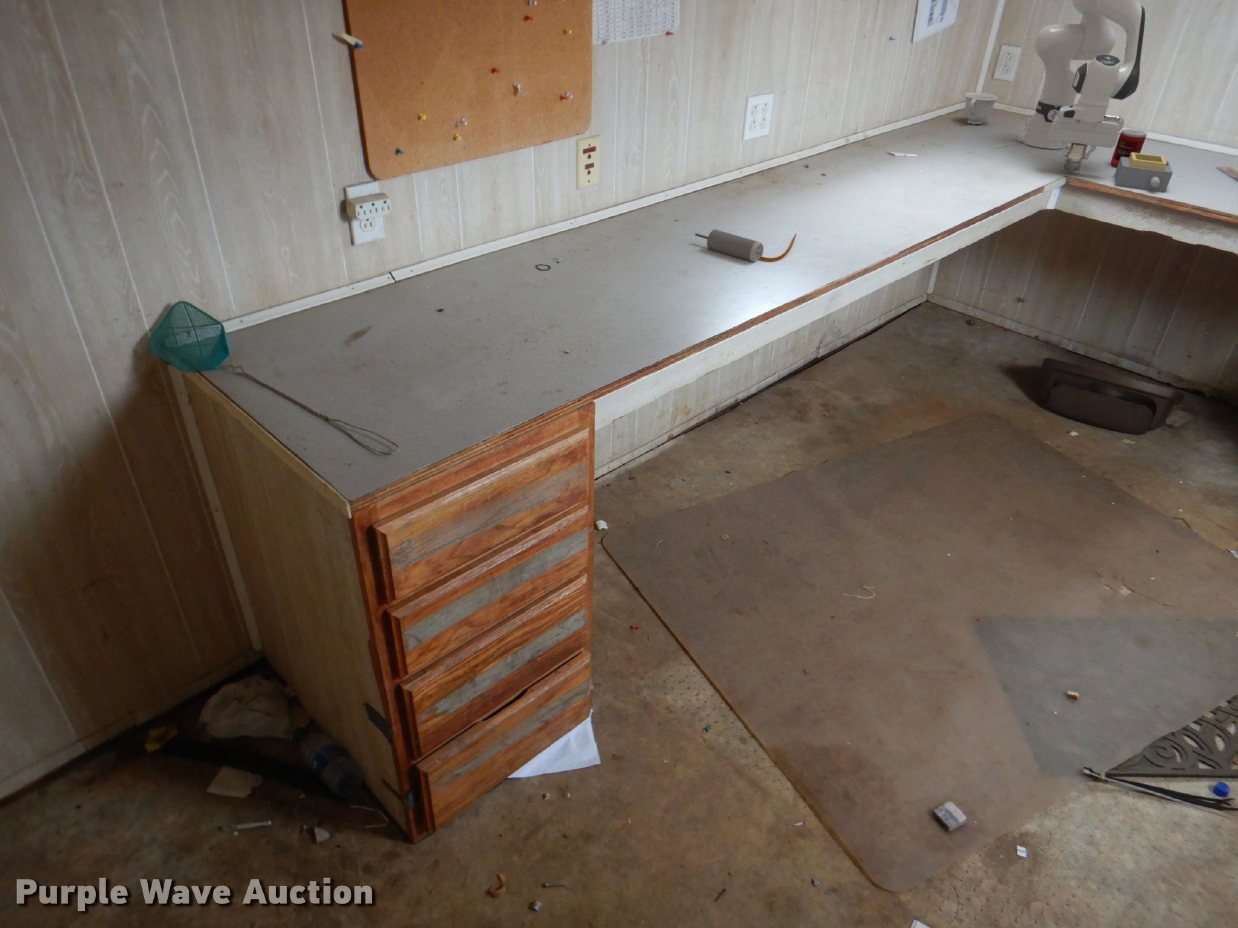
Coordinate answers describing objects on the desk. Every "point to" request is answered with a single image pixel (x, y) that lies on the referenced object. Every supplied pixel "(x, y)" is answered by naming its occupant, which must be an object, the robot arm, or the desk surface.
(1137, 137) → the canned food
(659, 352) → the desk surface
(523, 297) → the desk surface
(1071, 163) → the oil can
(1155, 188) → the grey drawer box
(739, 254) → the motor
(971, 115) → the teacup
